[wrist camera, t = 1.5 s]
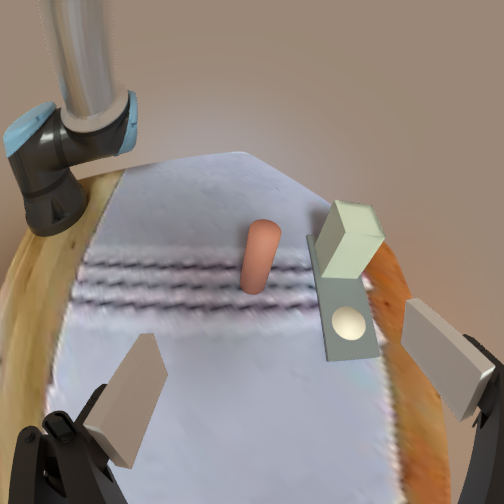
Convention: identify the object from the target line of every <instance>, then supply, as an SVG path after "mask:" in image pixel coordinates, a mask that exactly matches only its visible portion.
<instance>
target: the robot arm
mask: <svg viewBox="0 0 504 504" xmlns="http://www.w3.org/2000/svg"><path fill="white" fill-rule="evenodd" d="M36 1H37V6H38V11H39V16H40V21H41V25H42V30H43V33H44V38H45V42H46V45H47V48H48V52H49V56H50V59H51V62H52V66H53V69H54V72H55V75H56V78H57V81H58V84H59V87H60V90H61V93H62V96H63V99H64V102H63V104H62V107H61V108H58V109H57V108H56V105H55V103H54V102H52V101H51V102H46V103H44V104H41V105H39V106H37V107H35V108H33V109H31V110H30V111H28V112H27V113H25V114H24V115H22V116H21V117H19V118H18V119H17V120H16V121H15V122H14V123H12V124H11V125H10V126H9V128H8V129H7V130H6V132H5V134H4V138H3V142H4V146H5V151H6V157H7V158H8V160H9V163H10V166H11V168H12V171H13V173H14V176H15V179H16V181H17V183H18V186H19V188H20V190H21V193H22V195H23V199H24V206H25V211H26V221H27V224H28V226H29V228H30V230H31V231H32V232H33V233H34V234H35V235H37V236H43V237H45V236H52V235H55V234H58V233H60V232H62V231H64V230H66V229H67V228H69V227H70V226H71V225H73V224H74V223H75V222H76V221H77V220H78V219H79V218H80V217H81V215H82V214H83V212H84V210H85V208H86V205H87V197H86V194H85V191H84V188H83V187H82V185H81V184H80V183H78V181H77V180H76V178H75V177H74V175H73V174H72V172H71V171H70V168H69V167H71V166H74V165H78V164H81V163H85V162H89V161H93V160H97V159H101V158H106V157H110V156H118V155H119V154H122V153H126V152H129V151H131V150H132V149H133V148H134V146H135V144H136V138H137V97H136V93H135V92H134V91H129V90H127V89H126V87H125V85H124V84H123V83H122V82H120V81H119V80H117V74H116V62H115V47H114V23H113V22H114V21H113V20H114V19H113V0H36ZM401 345H402V346H403V347H404V348H405V350H406V351H407V352H408V353H409V355H410V356H411V357H412V359H413V360H414V361H415V362H416V364H417V365H418V366H419V368H420V369H421V370H422V371H423V373H424V374H425V375H426V377H427V378H428V379H429V381H430V382H431V383H432V385H433V386H434V387H435V389H436V390H437V391H438V393H439V394H440V396H441V397H442V398H443V400H444V401H445V402H446V404H447V405H448V407H449V408H450V409H451V411H452V412H453V413H454V415H455V417H456V418H457V419H458V421H459V422H461V421H463V420H465V419H467V418H469V417H470V416H472V415H473V413H474V411H475V409H476V407H477V405H478V407H479V408H480V409H481V411H480V413H479V414H478V416H477V418H476V420H475V422H474V423H473V426H472V427H474V426H475V425H476V423H477V429H476V435H475V441H474V446H473V451H472V455H471V460H470V464H469V468H468V472H467V476H466V479H465V483H464V486H463V490H462V492H461V495H460V498H459V501H458V504H504V365H503V364H502V363H501V362H500V361H499V360H497V358H495V357H494V356H493V355H492V354H491V353H490V352H489V351H488V350H485V348H484V347H483V346H482V345H480V343H479V342H478V341H476V340H475V339H474V338H473V337H470V336H468V335H466V334H464V335H461V334H460V333H459V332H458V331H457V330H456V329H454V328H453V327H452V326H451V325H450V324H449V323H448V322H446V321H445V320H444V319H443V318H442V317H441V316H439V315H438V314H437V313H436V312H435V311H433V310H432V309H431V308H430V307H429V306H427V305H426V304H425V303H424V302H422V301H421V300H420V299H419V298H414V299H409V300H406V306H405V315H404V323H403V331H402V338H401ZM167 376H168V373H167V371H166V368H165V365H164V363H163V360H162V357H161V354H160V351H159V349H158V346H157V343H156V340H155V337H154V334H140V336H139V337H138V339H137V340H136V342H135V343H134V344H133V346H132V347H131V349H130V350H129V352H128V353H127V355H126V356H125V358H124V360H123V361H122V363H121V364H120V366H119V367H118V369H117V370H116V372H115V373H114V375H113V376H112V378H111V380H110V381H109V383H108V384H102V385H101V386H99V387H98V388H97V389H96V390H95V391H94V392H93V394H92V395H91V397H90V399H89V400H88V402H87V403H86V405H85V406H84V408H83V409H82V411H81V412H80V414H79V416H78V417H77V419H76V420H75V422H73V421H72V419H71V418H70V417H69V415H68V414H67V413H66V412H64V411H54V412H52V413H50V414H48V415H47V416H46V417H45V418H44V420H43V423H42V427H43V428H44V429H45V431H46V432H47V433H48V434H49V435H44V434H42V433H41V431H40V430H39V429H38V428H37V427H35V426H28V427H25V428H24V429H22V430H21V432H20V433H19V435H18V438H17V443H16V448H15V453H14V458H13V464H12V471H11V479H10V488H9V500H8V504H128V503H127V501H126V500H125V498H124V496H123V494H122V492H121V490H120V488H119V486H118V484H117V482H116V480H115V478H114V476H113V474H112V471H111V469H110V468H109V466H108V465H107V463H108V460H109V458H110V460H111V461H112V462H113V463H114V464H115V465H116V466H119V467H124V468H128V469H132V467H133V464H134V461H135V458H136V456H137V453H138V450H139V448H140V445H141V442H142V440H143V437H144V434H145V432H146V429H147V426H148V424H149V421H150V419H151V416H152V414H153V411H154V408H155V406H156V403H157V401H158V398H159V396H160V393H161V391H162V388H163V386H164V383H165V381H166V378H167ZM44 471H45V475H44Z"/></svg>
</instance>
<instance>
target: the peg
mask: <svg viewBox="0 0 504 504" xmlns="http://www.w3.org/2000/svg"><path fill="white" fill-rule="evenodd" d="M280 237H281V229H280V227H279V226H278V225H277V224H276V223H274V222H272V221H270V220H265V219H261V220H256V221H254V222H253V223H252V224H251V225H250V228H249V234H248V239H247V245H246V250H245V256H244V261H243V267H242V272H241V278H240V287H241V288H242V290H243V291H244V292H246V293H248V294H252V295H255V294H259V293H261V292H262V291H263V290H264V288H265V285H266V282H267V278H268V275H269V272H270V269H271V266H272V263H273V259H274V256H275V253H276V250H277V247H278V243H279V240H280Z"/></svg>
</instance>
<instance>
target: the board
mask: <svg viewBox="0 0 504 504" xmlns="http://www.w3.org/2000/svg"><path fill="white" fill-rule="evenodd" d="M318 237H319V236H312V235H307V237H306V238H307V243H308V248H309V253H310V258H311V263H312V269H313V274H314V280H315V286H316V292H317V298H318V304H319V310H320V316H321V323H322V330H323V336H324V344H325V351H326V358H327V362H330V361H344V360H355V359H365V358H374V357H379V356H380V352H379V347H378V343H377V338H376V333H375V329H374V325H373V320H372V316H371V312H370V308H369V304H368V300H367V296H366V293H365V289H364V285H363V282H362V278H361V275H359V277H358V278H357V279H349V278H326V277H321V275H320V270H319V265H318V260H317V255H316V250H315V243H316V241H317V239H318Z"/></svg>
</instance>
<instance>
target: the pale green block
mask: <svg viewBox="0 0 504 504" xmlns="http://www.w3.org/2000/svg"><path fill="white" fill-rule="evenodd" d="M385 237H386V236H385V234H384V231H383V229H382V227H381V224H380V222H379V220H378V218H377V215H376V213H375V211H374V209H373V207H372V206H370V205H365V204H359V203H353V202H346V201H339V200H334V202H333V204H332V207H331V209H330V211H329V214H328V216H327V218H326V221H325V223H324V225H323V228H322V230H321V232H320V234H319V237H318V239H317V241H316V243H315V250H316V255H317V260H318V265H319V270H320V275H321V277H326V278H349V279H357V278H358V277H359V275H360V274H361V273H362V271H363V270H364V268H365V267H366V266H367V264H368V263H369V261H370V260H371V258H372V257H373V255H374V254H375V252H376V251H377V250H378V248H379V247H380V245H381V244H382V242H383V241H384V239H385Z"/></svg>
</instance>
